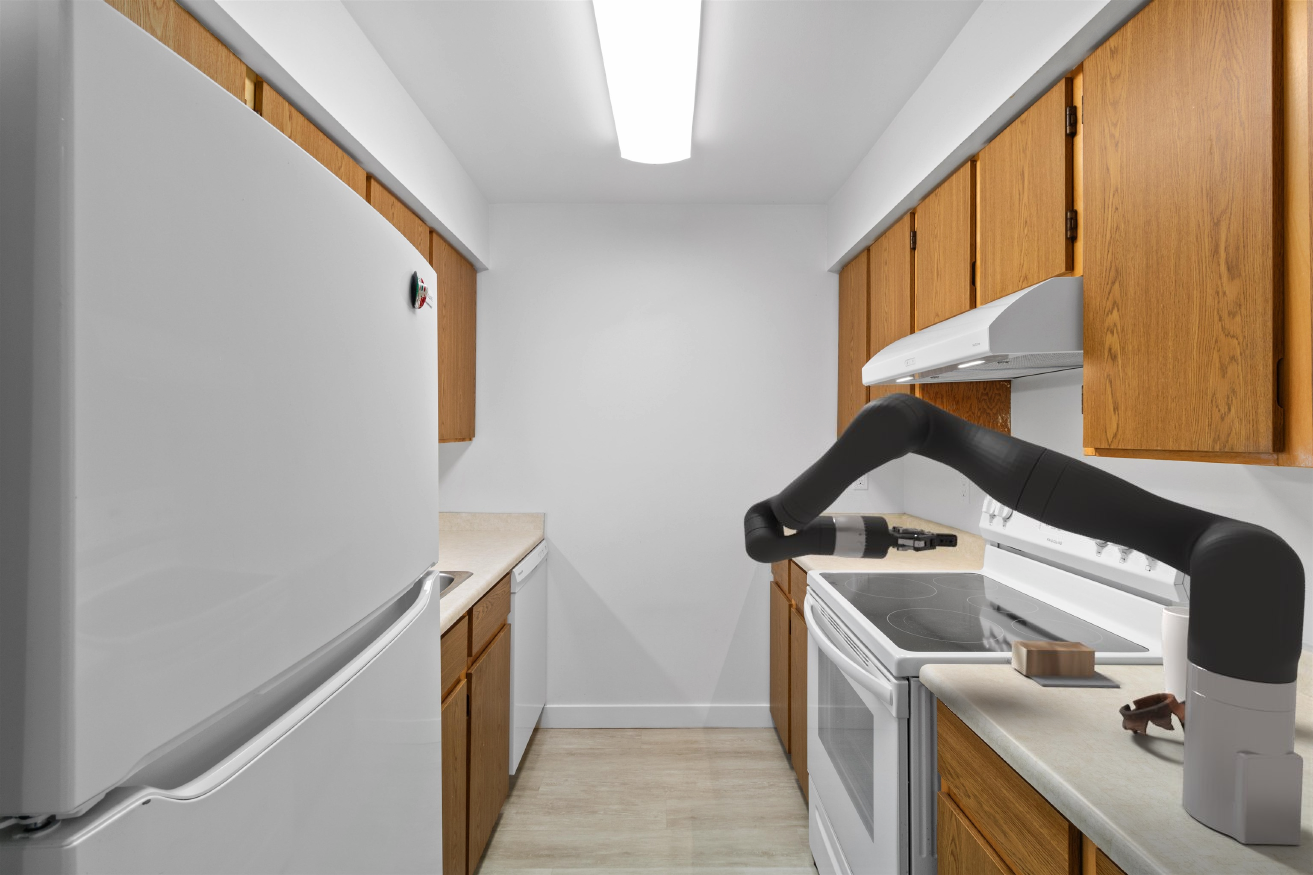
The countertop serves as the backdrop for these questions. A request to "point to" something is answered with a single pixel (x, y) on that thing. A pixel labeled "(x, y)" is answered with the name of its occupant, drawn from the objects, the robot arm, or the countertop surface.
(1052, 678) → the mat
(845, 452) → the robot arm
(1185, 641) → the drinking glass
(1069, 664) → the plain brown block
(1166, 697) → the brown jagged ring
